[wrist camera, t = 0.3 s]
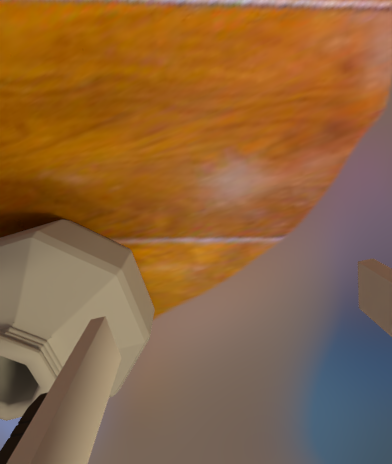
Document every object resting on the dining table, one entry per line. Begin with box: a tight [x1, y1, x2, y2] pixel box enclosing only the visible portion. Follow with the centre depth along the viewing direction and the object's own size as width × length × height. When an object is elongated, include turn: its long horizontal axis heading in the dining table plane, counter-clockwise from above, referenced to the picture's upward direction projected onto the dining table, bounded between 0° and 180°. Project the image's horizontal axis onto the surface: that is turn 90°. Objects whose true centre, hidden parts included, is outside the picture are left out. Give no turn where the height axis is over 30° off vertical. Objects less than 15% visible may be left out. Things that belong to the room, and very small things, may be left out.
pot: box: [0, 219, 154, 420], centre depth 34 cm, size 28×28×19 cm
